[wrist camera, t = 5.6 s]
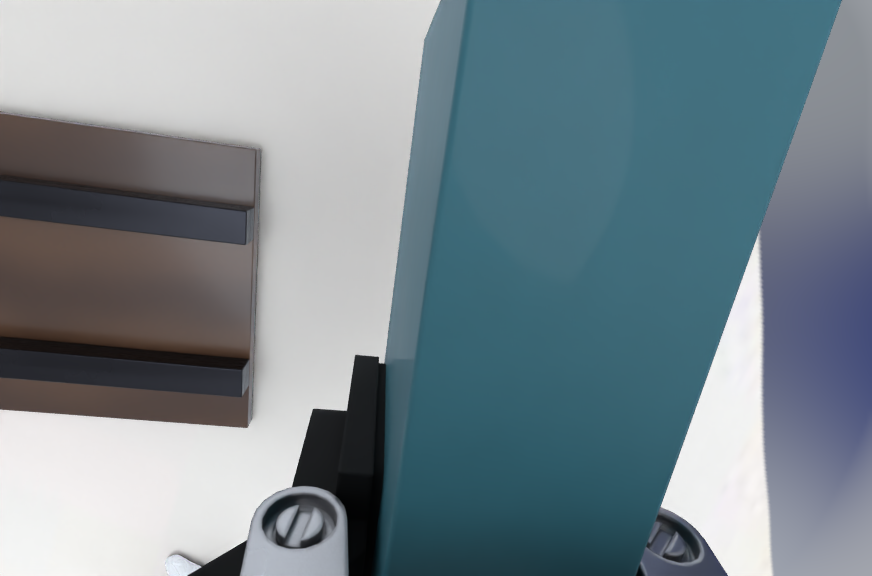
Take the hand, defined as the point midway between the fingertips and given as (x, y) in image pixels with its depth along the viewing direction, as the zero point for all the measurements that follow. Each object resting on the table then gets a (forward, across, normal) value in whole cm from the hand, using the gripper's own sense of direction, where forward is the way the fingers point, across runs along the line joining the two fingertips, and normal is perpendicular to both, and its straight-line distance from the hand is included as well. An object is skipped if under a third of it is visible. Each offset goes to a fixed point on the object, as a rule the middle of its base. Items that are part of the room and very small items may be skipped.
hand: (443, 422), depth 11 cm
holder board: (+14, +18, +2) cm, 23 cm away
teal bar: (+1, 0, 0) cm, 1 cm away
